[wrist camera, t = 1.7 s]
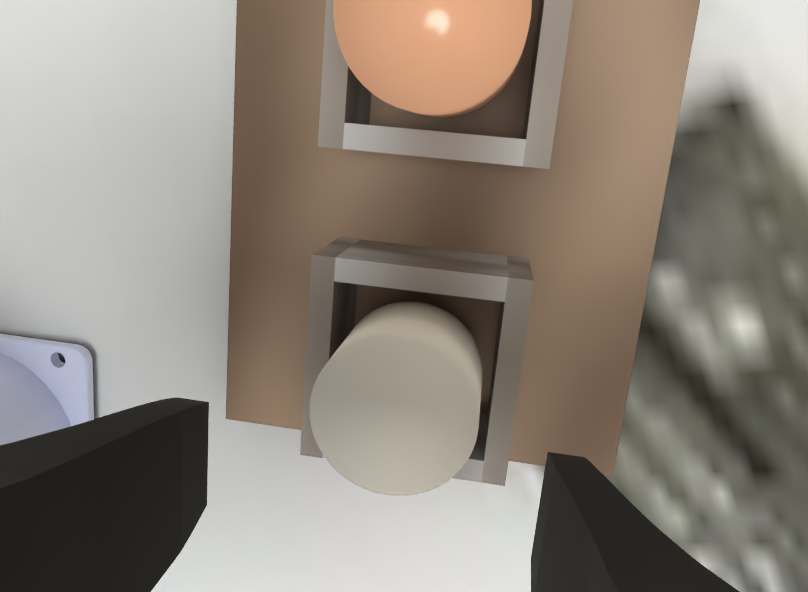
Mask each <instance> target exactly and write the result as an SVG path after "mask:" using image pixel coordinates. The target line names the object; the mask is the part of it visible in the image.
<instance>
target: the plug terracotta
mask: <svg viewBox="0 0 808 592" xmlns="http://www.w3.org/2000/svg"><path fill="white" fill-rule="evenodd" d="M531 8H532V0H334V2H333V18H334V26H335V32H336V36H337V40H338V44H339V47H340V49H341V52H342V55H343V57H344V59H345V61H346V63H347V64H348V66H349V68H350V69H351V71H352V72H353V74H354V75H355V77H356V78H357V79H358V80H359V81H360V82H361V83H362V84H363V86H364V87H365V88H367V89H368V90H369V91H370V92H371V93H372V94H374V95H375V96H376V97H378V98H380V99H381V100H383V101H384V102H386V103H388V104H390V105H393V106H395V107H397V108H400V109H404V110H407V111H410V112H414V113H417V114H421V115H424V116H428V117H435V118H450V117H457V116H461V115H465V114H468V113H471V112H473V111H476V110H478V109H479V108H481V107H483V106H485V105H486V104H488V103H489V102H490V101H492V100H493V99H494V98H495V97H496V96H497V95H498V94H500V93H501V92H502V90H503V89H504V88H505V87H506V86H507V84H508V83H509V82H510V80H511V78H512V77H513V75H514V74H515V71H516V69H517V67H518V65H519V63H520V60H521V57H522V53H523V50H524V46H525V42H526V38H527V34H528V30H529V24H530V19H531Z"/></svg>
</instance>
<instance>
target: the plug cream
mask: <svg viewBox="0 0 808 592" xmlns="http://www.w3.org/2000/svg"><path fill="white" fill-rule="evenodd" d="M482 376H483V367H482V359H481V355H480V351H479V349H478V346H477V344H476V342H475V340H474V338H473V336H472V335H471V333H470V332H469V330H468V329H467V328H466V327H465V326H464V325H463V324H462V322H461V321H459V320H458V319H457V318H456V317H455V316H453V315H452V314H450V313H449V312H447V311H445V310H443V309H441V308H439V307H437V306H434V305H431V304H428V303H423V302H418V301H401V302H395V303H390V304H387V305H384V306H381V307H379V308H377V309H375V310H373V311H372V312H370V313H369V314H368V315H366V316H365V317H364V318H363V319H362V320H361V321H359V323H358V324H357V325H356V326H355V327H354V329H353V330H352V331H351V332H350V334H349V335H348V336H347V338H346V339H345V340H344V342H343V343H342V344H341V345H340V347H339V348H338V349H337V351H336V352H335V353H334V354H333V356H332V357H331V358H330V360H329V361H328V362H327V363H326V365H325V366H324V367H323V369H322V370H321V372H320V374H319V375H318V377H317V379H316V382H315V384H314V386H313V390H312V393H311V398H310V423H311V428H312V432H313V435H314V438H315V440H316V443H317V445H318V447H319V449H320V450H321V452H322V454H323V455H324V457H325V458H326V459H327V461H328V462H329V463H330V464H331V466H332V467H333V468H334V469H335V470H336V471H337V472H339V473H340V474H341V475H342V476H344V477H345V478H346V479H348V480H349V481H351V482H352V483H354V484H356V485H358V486H360V487H362V488H364V489H367V490H370V491H373V492H376V493H380V494H385V495H394V496H405V495H414V494H419V493H423V492H426V491H429V490H432V489H434V488H436V487H438V486H440V485H442V484H444V483H445V482H447V481H448V480H449V479H451V478H452V477H453V476H455V475H456V474H457V472H458V471H459V470H460V469H461V468H462V467H463V466H464V464H465V463H466V462H467V460H468V459H469V457H470V455H471V453H472V451H473V448H474V446H475V443H476V439H477V434H478V428H479V415H480V402H481V390H482Z"/></svg>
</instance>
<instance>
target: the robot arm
mask: <svg viewBox="0 0 808 592" xmlns="http://www.w3.org/2000/svg"><path fill="white" fill-rule="evenodd" d="M59 353H61V354H62V355H63V356H64V358H65V363H63V362H61V360H60V359H59V356H58V354H59ZM208 414H209V402H203V401H196V400H190V399H183V398H170V399H164V400H159V401H155V402H151V403H147V404H144V405H140V406H137V407H133V408H130V409H127V410H123V411H120V412H117V413H113V414H110V415H107V416H104V417H100V418H97V419H94V400H93V361H92V356H91V354H90V352H89V351H88V350H87V349H86V348H85V347H84V346H81V345H78V344H71V343H64V342H57V341H50V340H42V339H35V338H28V337H21V336H14V335H6V334H0V592H151V590H152V589H153V588H154V586H155V585H156V584H157V583H158V581H159V580H160V579H161V577H162V576H163V575H164V573H165V572H166V571H167V569H168V568H169V567H170V565H171V564H172V563H173V561H174V560H175V559H176V557H177V556H178V555H179V553H180V552H181V550H182V548H183V547H184V545H185V543H186V542H187V540H188V538H189V537H190V535H191V533H192V531H193V530H194V528H195V526H196V524H197V522H198V520H199V518H200V517H201V515H202V513H203V511H204V509H205V507H206V505H207V466H208ZM531 592H739V591H738V590H736V589H735V588H733V587H732V586H731V585H729V584H728V583H726V582H725V581H724V580H722V579H721V578H719V577H718V576H717V575H715V574H714V573H712V572H711V571H710V570H708V569H707V568H705V567H704V566H703V565H701V564H700V563H699V562H698V561H696V560H695V559H694V558H692V557H691V556H690V555H689V554H687V553H686V552H685V551H684V550H683V549H681V548H680V547H679V546H678V545H677V544H676V543H674V542H673V541H672V540H671V539H670V538H668V537H667V536H666V535H665V534H664V533H663V532H661V531H660V530H659V529H658V528H657V527H656V526H655V525H654V524H653V523H651V522H650V521H649V520H648V519H647V518H646V517H645V516H644V515H643V514H642V513H641V512H640V511H639V510H638V509H637V508H636V507H635V506H634V505H633V504H631V503H630V502H629V501H628V500H627V499H626V498H625V497H624V496H623V495H622V494H621V493H620V492H619V491H618V490H617V488H616V487H615V486H614V485H613V484H612V483H611V482H610V481H609V480H608V479H607V478H606V477H605V476H604V475H603V474H602V473H601V472H600V471H599V470H598V469H597V468H596V467H595V466H594V465H593V464H592V463H591V462H590V461H589V460H588V459H586V458H585V457H580V456H573V455H566V454H560V453H553V452H548V453H547V460H546V466H545V472H544V479H543V485H542V492H541V498H540V504H539V511H538V517H537V524H536V530H535V536H534V543H533V549H532V556H531Z"/></svg>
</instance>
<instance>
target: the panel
mask: <svg viewBox="0 0 808 592" xmlns="http://www.w3.org/2000/svg"><path fill="white" fill-rule="evenodd" d="M333 2H334V0H237V21H236V59H235V96H234V134H233V172H232V210H231V248H230V286H229V324H228V362H227V400H226V419H232V420H238V421H245V422H252V423H259V424H265V425H272V426H279V427H286V428H292V429H299V430H302V435H301V453H300V455H307V456H313V457H320V458H325V457H324V455H323V454H322V452H321V450H320V449H319V447H318V445H317V443H316V440H315V438H314V435H313V432H312V428H311V423H310V398H311V393H312V390H313V386H314V384H315V382H316V379H317V377H318V375H319V374H320V372H321V370H322V369H323V367H324V366H325V365H326V363H327V362H328V361H329V360H330V358H331V357H332V356H333V354H334V353H335V352H336V351H337V349H338V348H339V347H340V345H341V344H342V343H343V342H344V340H345V339H346V338H347V336H348V335H349V334H350V332H351V331H352V330H353V329H354V327H355V326H356V325H357V324H358V323H359V321H361V320H362V319H363V318H364V317H365V316H366V315H368V314H369V313H370V312H372V311H373V310H375V309H377V308H379V307H381V306H384V305H387V304H390V303H395V302H401V301H418V302H423V303H428V304H431V305H434V306H437V307H439V308H441V309H443V310H445V311H447V312H449V313H450V314H452V315H453V316H455V317H456V318H457V319H458V320H459V321H461V322H462V324H463V325H464V326H465V327H466V328H467V329H468V330H469V332H470V333H471V335H472V336H473V338H474V340H475V342H476V344H477V346H478V349H479V351H480V355H481V359H482V367H483V376H482V390H481V402H480V415H479V428H478V434H477V439H476V443H475V446H474V448H473V451H472V453H471V455H470V457H469V459H468V460H467V462H466V463H465V464H464V466H463V467H462V468H461V469H460V470H459V471H458V472H457V474H456V475H455V476H453V477H452V478H457V479H464V480H470V481H477V482H483V483H490V484H496V485H503V486H505V481H506V474H507V467H508V461H515V462H521V463H528V464H535V465H542V466H546V460H547V453H548V452H553V453H560V454H566V455H573V456H580V457H585V458H586V459H588V460H589V461H590V462H591V463H592V464H593V465H594V466H595V467H596V468H597V469H598V470H599V471H600V472H601V473H602V474H603V475H609V476H613V471H614V465H615V460H616V455H617V449H618V444H619V438H620V433H621V427H622V422H623V416H624V411H625V406H626V400H627V395H628V389H629V384H630V378H631V373H632V368H633V362H634V357H635V351H636V346H637V340H638V335H639V330H640V324H641V319H642V313H643V308H644V302H645V297H646V292H647V286H648V281H649V275H650V270H651V264H652V259H653V254H654V248H655V243H656V237H657V232H658V226H659V221H660V216H661V210H662V205H663V199H664V194H665V188H666V183H667V177H668V172H669V167H670V161H671V156H672V150H673V145H674V139H675V134H676V129H677V123H678V118H679V112H680V107H681V101H682V96H683V91H684V85H685V80H686V74H687V69H688V63H689V58H690V53H691V47H692V42H693V36H694V31H695V25H696V20H697V15H698V9H699V4H700V0H532V8H531V19H530V24H529V30H528V34H527V38H526V42H525V46H524V50H523V53H522V57H521V60H520V63H519V65H518V67H517V69H516V71H515V74H514V75H513V77H512V78H511V80H510V82H509V83H508V84H507V86H506V87H505V88H504V89H503V90H502V92H501V93H500V94H498V95H497V96H496V97H495V98H494V99H493V100H492V101H490V102H489V103H488V104H486V105H485V106H483V107H481V108H479V109H478V110H476V111H473V112H471V113H468V114H465V115H461V116H457V117H450V118H435V117H428V116H424V115H421V114H417V113H414V112H410V111H407V110H404V109H400V108H397V107H395V106H393V105H390V104H388V103H386V102H384V101H383V100H381V99H380V98H378V97H376V96H375V95H374V94H372V93H371V92H370V91H369V90H368V89H367V88H365V87H364V86H363V84H362V83H361V82H360V81H359V80H358V79H357V78H356V77H355V75H354V74H353V72H352V71H351V69H350V68H349V66H348V64H347V63H346V61H345V59H344V57H343V55H342V52H341V49H340V47H339V44H338V40H337V36H336V32H335V26H334V18H333Z"/></svg>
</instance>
